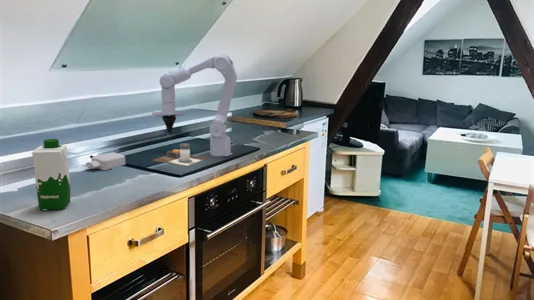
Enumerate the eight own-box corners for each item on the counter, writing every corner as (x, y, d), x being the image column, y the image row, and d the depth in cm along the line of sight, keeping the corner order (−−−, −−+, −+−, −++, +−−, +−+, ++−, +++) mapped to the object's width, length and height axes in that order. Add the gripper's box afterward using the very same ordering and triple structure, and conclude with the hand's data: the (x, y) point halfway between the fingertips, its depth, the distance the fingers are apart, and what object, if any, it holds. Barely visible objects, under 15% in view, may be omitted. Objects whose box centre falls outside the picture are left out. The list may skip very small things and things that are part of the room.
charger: (78, 170, 171) (112, 162, 183) (91, 174, 166) (125, 166, 177) (77, 158, 170) (111, 151, 182) (90, 162, 165) (125, 155, 176)
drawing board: (175, 154, 197) (175, 148, 196) (208, 160, 189) (208, 153, 188) (152, 162, 184) (151, 155, 183) (186, 168, 176) (186, 161, 175)
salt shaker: (184, 159, 186) (183, 142, 185) (192, 160, 184) (191, 144, 183) (177, 161, 183) (177, 144, 181) (186, 162, 181) (185, 146, 179)
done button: (175, 153, 194) (175, 148, 193) (181, 154, 192) (181, 149, 192) (171, 154, 191) (171, 150, 190) (177, 155, 189) (176, 151, 189)
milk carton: (74, 200, 139) (68, 138, 134) (66, 210, 130) (60, 145, 125) (44, 201, 137) (37, 138, 132) (34, 212, 129) (27, 145, 124)
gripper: (181, 100, 199) (182, 129, 202) (149, 101, 192) (150, 131, 196) (186, 102, 193) (187, 132, 196) (153, 103, 186) (154, 134, 189)
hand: (169, 132), depth 195 cm, fingers closed
